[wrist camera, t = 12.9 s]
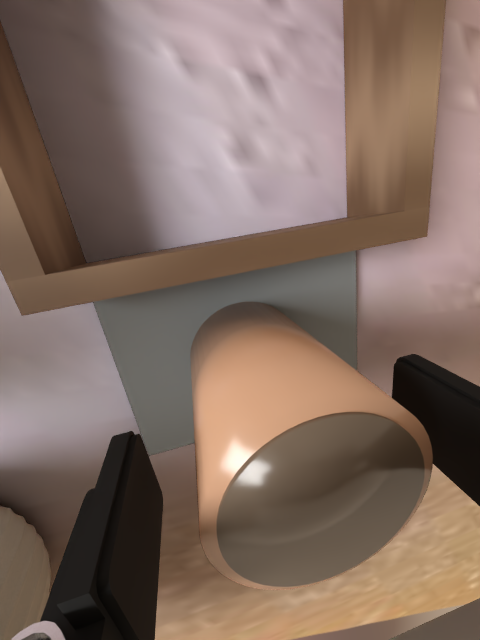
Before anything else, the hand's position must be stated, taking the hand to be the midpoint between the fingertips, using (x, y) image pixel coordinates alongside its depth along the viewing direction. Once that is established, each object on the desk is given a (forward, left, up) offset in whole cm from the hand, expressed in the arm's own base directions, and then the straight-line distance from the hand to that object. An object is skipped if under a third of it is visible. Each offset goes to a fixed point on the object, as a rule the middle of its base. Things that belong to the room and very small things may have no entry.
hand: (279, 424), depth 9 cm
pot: (0, 0, -6) cm, 6 cm away
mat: (0, 0, -7) cm, 7 cm away
